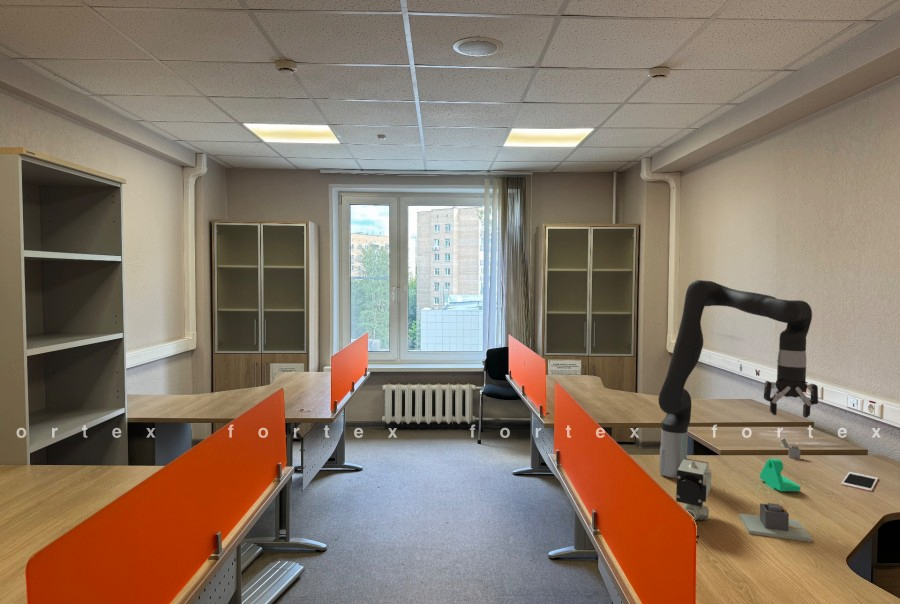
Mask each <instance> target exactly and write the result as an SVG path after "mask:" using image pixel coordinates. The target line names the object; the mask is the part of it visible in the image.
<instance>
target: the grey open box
mask: <svg viewBox="0 0 900 604" xmlns="http://www.w3.org/2000/svg"><path fill="white" fill-rule="evenodd" d="M780 506H781V508H782V512H775V511H768V503H759V516H760V521H761V522H762V524H763V525H764V527H765V528H768V529H777V530H785V531H788V529H789V519H790V518H789V517H790V515H789V512H788V511H787V508H786V507H785V506H783V505H780Z"/></svg>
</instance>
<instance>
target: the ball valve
mask: <svg viewBox="0 0 900 604" xmlns="http://www.w3.org/2000/svg"><path fill="white" fill-rule="evenodd" d="M711 488H712V469H711V468H709V462H707V461H701V460H696V459H690V458H687V459H685V458H684V460H683V461H682V463H681V465H680V467H679V469H678V470H677V478H676V488H675V489H676V494H675V495H676V496H675V497H676V498H675V501H676V502H678V503H681V504H684V505H683V507H684V508H685V510H687V511H688V512H689V513H690V514H691V515H692V516H693V517H694V519H695V521H697V520H699V521H700V520H701V521H703V520H705V521H708V519H709V513H710V512H709V510H710V508H709V506H706V505H704V503H707V499H708V496H709V494H710V491H711Z"/></svg>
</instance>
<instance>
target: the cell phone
mask: <svg viewBox="0 0 900 604" xmlns="http://www.w3.org/2000/svg"><path fill="white" fill-rule="evenodd" d="M878 480H879V477H876V476H871V475H868V474H867V475H866V474H862V473H857V472H853V471H849V472H848V473H847V474H846V476H845V477H844V479H843V480H842V481H841V482H840V485H841V486H844V487H847V488H853V489H857V490H861V491H864V492H865V491H866V492H869V493H870V492H871V493H872V492H873V490H874V488H875V486H876V484H877V483H878Z"/></svg>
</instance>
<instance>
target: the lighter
mask: <svg viewBox="0 0 900 604" xmlns="http://www.w3.org/2000/svg"><path fill="white" fill-rule="evenodd" d="M780 441H781V443H782V444H783V446H784V448H785V449H788V453H787V454H788V457H790V458H789V459H794V460H800V459H801V448H800V447H799V446H798V445H795V444H792V445H791V446H789V445H788V442H787V440H786V438H785V437H781V438H780Z"/></svg>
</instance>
